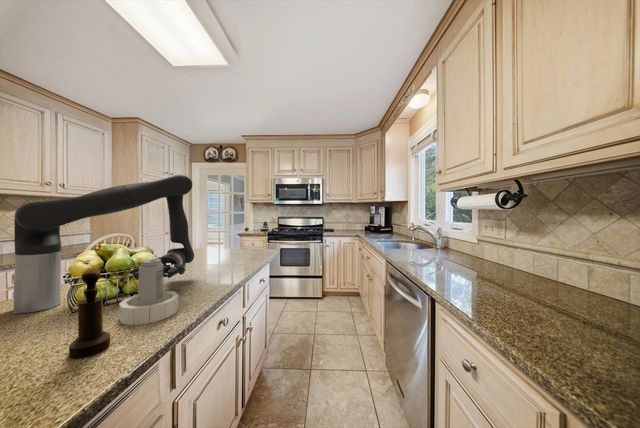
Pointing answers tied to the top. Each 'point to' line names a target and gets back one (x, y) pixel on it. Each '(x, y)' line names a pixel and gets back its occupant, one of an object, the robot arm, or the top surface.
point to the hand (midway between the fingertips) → (153, 275)
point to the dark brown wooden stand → (90, 321)
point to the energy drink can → (150, 282)
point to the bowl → (147, 309)
